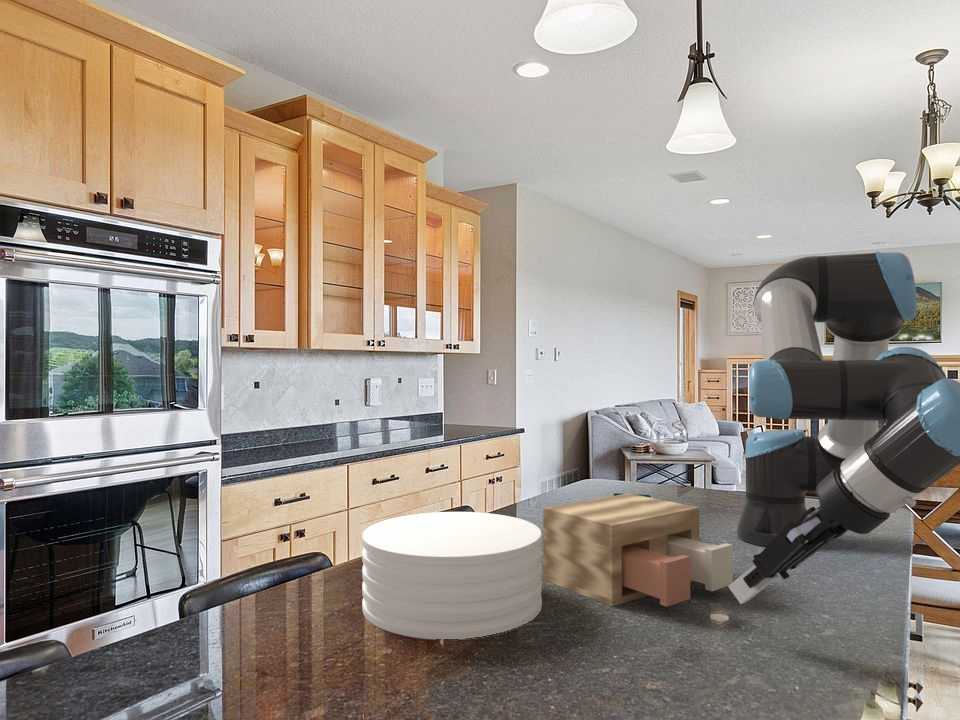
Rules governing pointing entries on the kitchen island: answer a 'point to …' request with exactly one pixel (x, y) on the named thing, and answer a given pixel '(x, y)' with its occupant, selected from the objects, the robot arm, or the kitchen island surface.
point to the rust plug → (656, 574)
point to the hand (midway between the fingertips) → (737, 594)
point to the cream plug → (704, 561)
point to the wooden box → (608, 541)
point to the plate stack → (451, 574)
